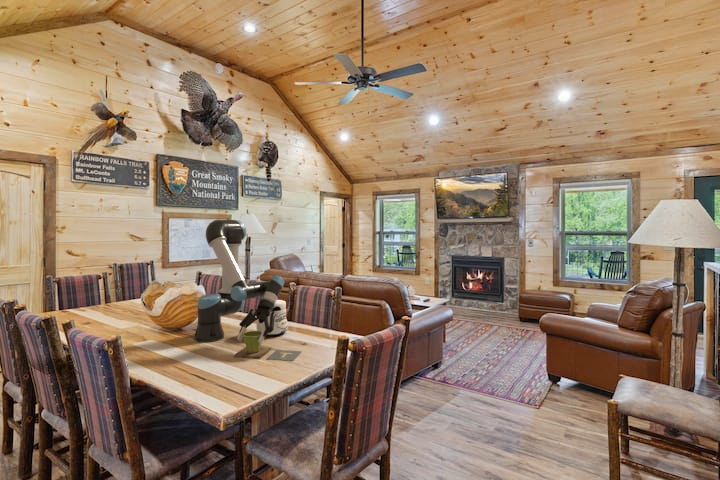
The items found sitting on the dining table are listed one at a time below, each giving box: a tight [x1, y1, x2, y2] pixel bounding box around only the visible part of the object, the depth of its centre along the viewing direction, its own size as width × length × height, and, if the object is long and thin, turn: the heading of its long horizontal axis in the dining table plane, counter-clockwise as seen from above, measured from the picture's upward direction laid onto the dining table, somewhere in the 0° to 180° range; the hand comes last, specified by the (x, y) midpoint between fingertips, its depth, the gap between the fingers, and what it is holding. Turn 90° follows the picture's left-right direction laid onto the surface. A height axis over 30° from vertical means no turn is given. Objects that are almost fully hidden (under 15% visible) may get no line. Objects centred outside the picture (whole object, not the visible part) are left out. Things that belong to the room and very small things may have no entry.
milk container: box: [256, 299, 289, 337], centre depth 218 cm, size 17×17×18 cm
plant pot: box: [243, 330, 262, 353], centre depth 183 cm, size 9×9×9 cm
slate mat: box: [266, 349, 303, 362], centre depth 181 cm, size 13×13×1 cm
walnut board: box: [233, 346, 272, 360], centre depth 184 cm, size 13×13×1 cm
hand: (249, 341), depth 181 cm, fingers open, 11 cm apart
